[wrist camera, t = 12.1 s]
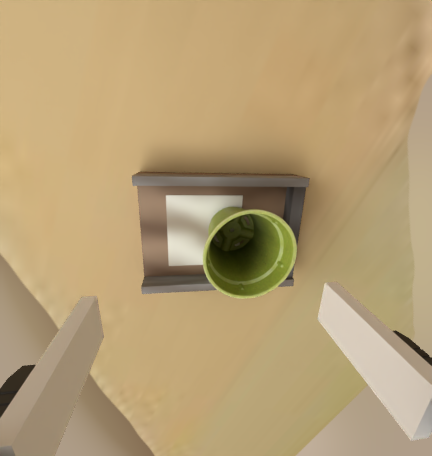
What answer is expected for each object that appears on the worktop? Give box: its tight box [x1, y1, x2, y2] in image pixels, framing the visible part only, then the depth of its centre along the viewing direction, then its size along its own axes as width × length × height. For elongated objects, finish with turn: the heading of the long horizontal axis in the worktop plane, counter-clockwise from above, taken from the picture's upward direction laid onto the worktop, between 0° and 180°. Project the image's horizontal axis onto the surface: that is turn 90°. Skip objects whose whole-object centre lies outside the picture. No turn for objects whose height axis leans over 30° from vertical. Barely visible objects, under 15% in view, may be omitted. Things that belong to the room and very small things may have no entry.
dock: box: [132, 172, 310, 294], centre depth 30 cm, size 14×20×4 cm
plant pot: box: [203, 207, 297, 299], centre depth 26 cm, size 9×9×9 cm
